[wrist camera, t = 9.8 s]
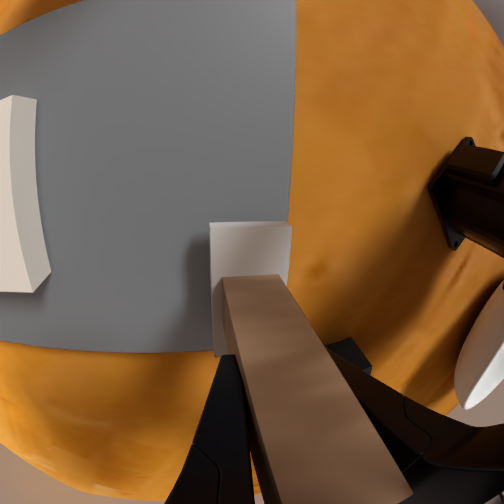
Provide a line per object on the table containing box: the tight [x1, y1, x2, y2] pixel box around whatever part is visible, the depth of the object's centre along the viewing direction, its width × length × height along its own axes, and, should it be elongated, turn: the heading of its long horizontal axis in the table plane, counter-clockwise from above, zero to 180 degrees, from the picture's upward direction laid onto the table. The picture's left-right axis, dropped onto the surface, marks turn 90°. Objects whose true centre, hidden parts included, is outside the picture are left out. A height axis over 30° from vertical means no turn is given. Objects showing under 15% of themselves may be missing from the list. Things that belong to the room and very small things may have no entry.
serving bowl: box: [454, 280, 504, 410], centre depth 21 cm, size 21×21×7 cm
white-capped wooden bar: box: [209, 221, 414, 504], centre depth 7 cm, size 3×6×10 cm, turn 178°
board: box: [0, 0, 296, 353], centre depth 9 cm, size 22×18×2 cm
